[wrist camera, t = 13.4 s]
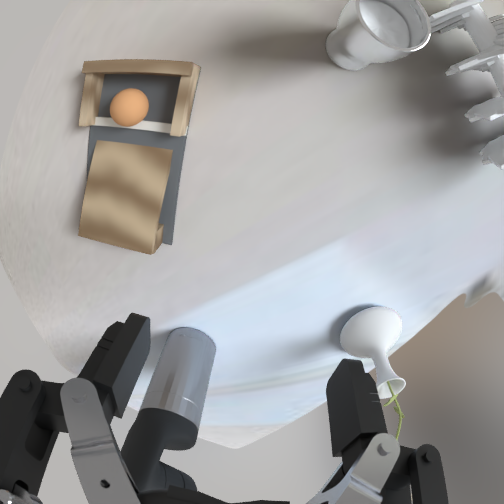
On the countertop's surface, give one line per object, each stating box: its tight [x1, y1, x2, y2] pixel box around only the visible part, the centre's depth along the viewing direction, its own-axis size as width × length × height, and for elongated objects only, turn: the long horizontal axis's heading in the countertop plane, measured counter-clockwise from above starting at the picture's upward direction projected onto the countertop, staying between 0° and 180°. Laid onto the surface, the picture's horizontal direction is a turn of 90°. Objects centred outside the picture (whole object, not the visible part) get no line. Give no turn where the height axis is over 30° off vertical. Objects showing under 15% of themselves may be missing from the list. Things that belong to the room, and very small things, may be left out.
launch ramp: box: [78, 140, 173, 255], centre depth 36 cm, size 14×12×6 cm
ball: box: [110, 88, 149, 127], centre depth 29 cm, size 5×5×5 cm
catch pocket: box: [79, 59, 201, 137], centre depth 29 cm, size 9×15×4 cm, turn 77°
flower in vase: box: [340, 306, 406, 441], centre depth 35 cm, size 13×11×25 cm
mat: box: [87, 68, 201, 245], centre depth 34 cm, size 25×15×1 cm, turn 167°
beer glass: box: [326, 0, 431, 71], centre depth 20 cm, size 7×7×15 cm
